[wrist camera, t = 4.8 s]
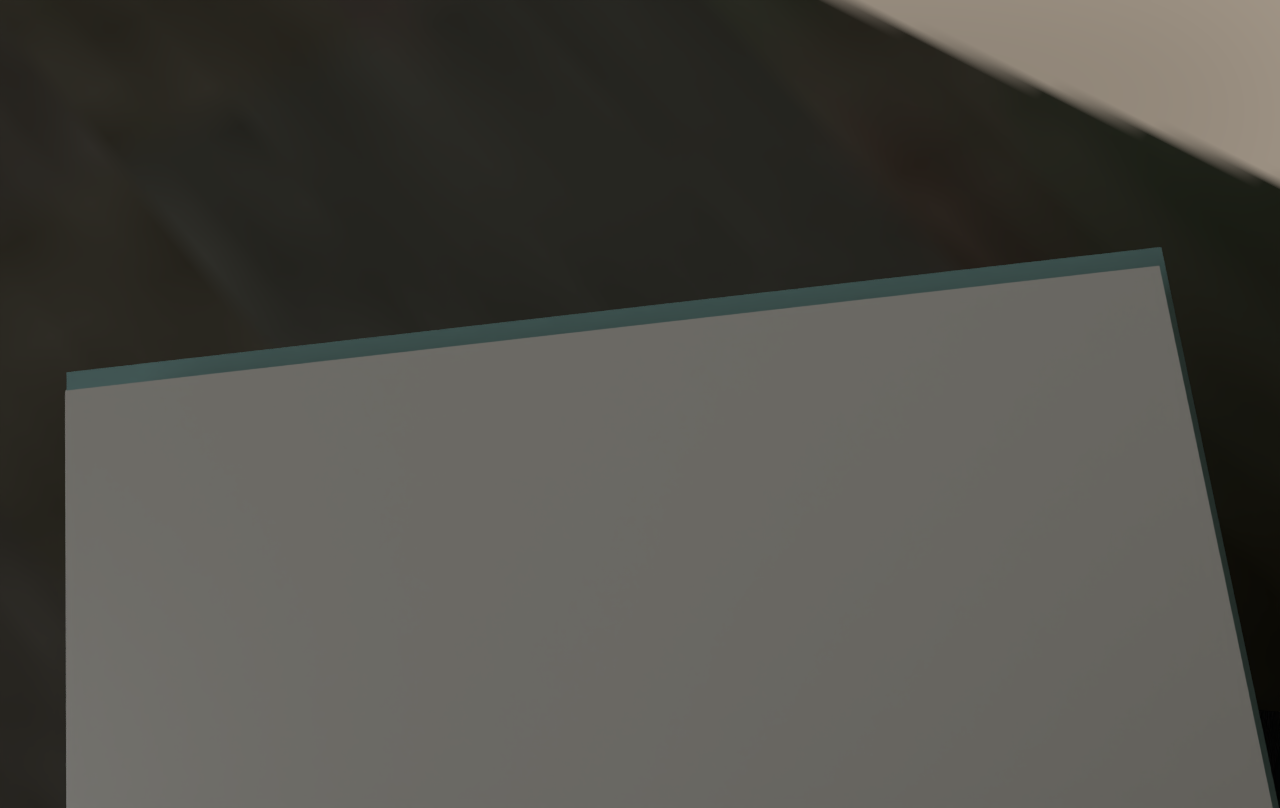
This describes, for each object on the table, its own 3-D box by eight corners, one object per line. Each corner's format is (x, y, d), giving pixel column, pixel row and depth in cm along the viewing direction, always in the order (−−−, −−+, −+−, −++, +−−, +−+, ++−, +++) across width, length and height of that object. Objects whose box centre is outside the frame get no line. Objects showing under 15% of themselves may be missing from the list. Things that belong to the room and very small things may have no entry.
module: (891, 900, 16) (1509, 1642, 4) (522, 939, 16) (9, 1781, 4) (839, 530, 17) (1196, 214, 5) (493, 569, 17) (18, 352, 5)
